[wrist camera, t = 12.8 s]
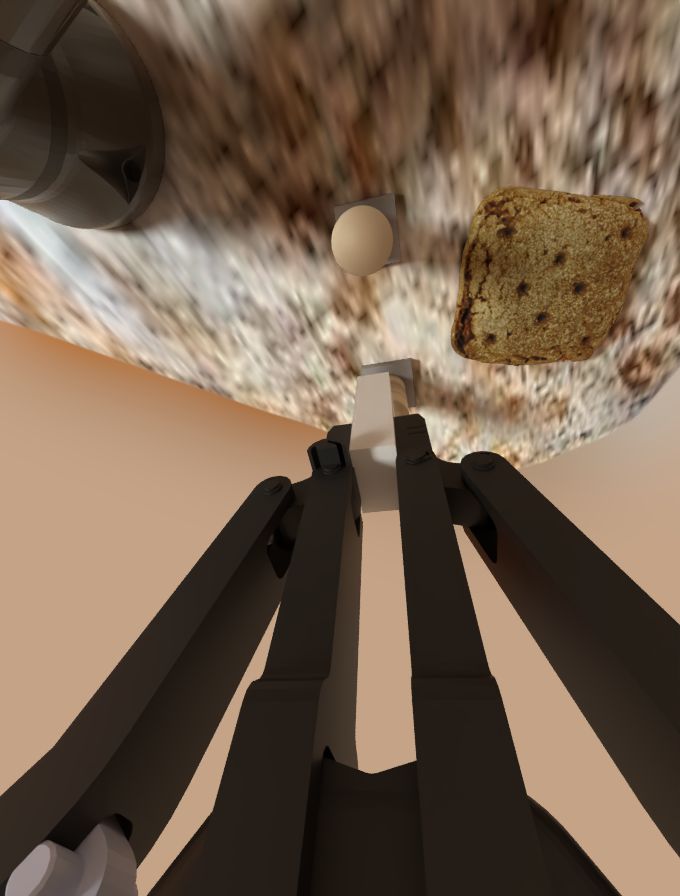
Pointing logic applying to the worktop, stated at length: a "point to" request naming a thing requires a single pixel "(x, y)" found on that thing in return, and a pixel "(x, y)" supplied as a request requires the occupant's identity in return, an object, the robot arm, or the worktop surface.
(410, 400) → the post
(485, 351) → the pastry
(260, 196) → the worktop surface
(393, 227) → the post
